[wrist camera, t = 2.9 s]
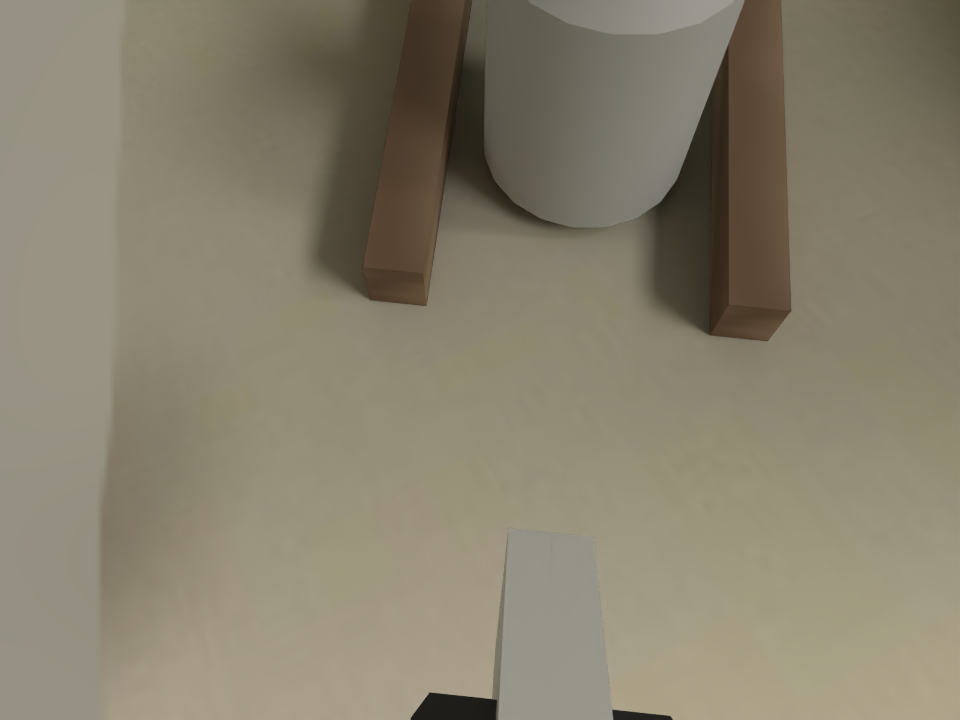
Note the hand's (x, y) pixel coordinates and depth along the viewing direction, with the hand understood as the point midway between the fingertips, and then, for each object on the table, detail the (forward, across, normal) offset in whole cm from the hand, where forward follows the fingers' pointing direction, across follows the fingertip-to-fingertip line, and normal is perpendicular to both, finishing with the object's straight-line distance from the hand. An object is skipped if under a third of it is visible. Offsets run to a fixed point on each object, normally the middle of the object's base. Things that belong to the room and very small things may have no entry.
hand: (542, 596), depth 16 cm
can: (+21, +1, +5) cm, 22 cm away
